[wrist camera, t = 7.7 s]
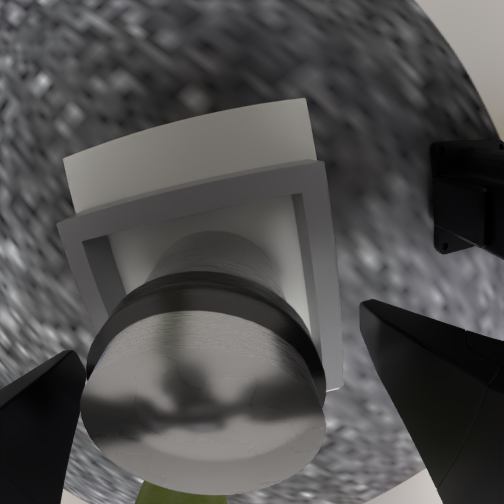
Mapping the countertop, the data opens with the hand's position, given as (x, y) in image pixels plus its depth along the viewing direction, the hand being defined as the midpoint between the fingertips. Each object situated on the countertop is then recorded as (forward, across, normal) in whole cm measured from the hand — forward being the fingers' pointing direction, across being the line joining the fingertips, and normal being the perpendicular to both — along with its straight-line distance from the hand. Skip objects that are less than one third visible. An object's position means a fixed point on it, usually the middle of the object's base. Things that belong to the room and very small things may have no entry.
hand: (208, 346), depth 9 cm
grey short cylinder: (+4, 0, 0) cm, 4 cm away
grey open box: (+8, 0, 0) cm, 8 cm away
